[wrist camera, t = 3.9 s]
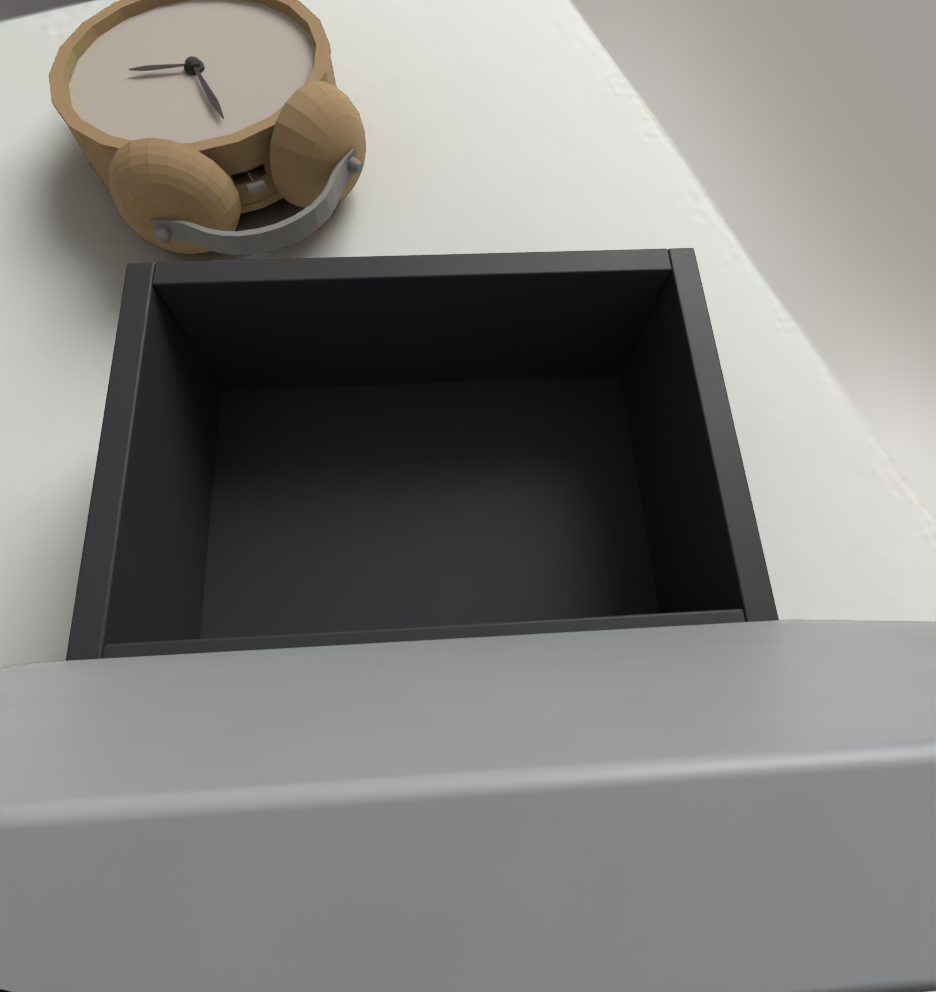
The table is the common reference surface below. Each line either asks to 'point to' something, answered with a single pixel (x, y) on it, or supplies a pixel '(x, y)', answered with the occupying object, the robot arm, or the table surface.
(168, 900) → the lid
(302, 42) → the alarm clock
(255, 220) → the table surface
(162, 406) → the open storage box
